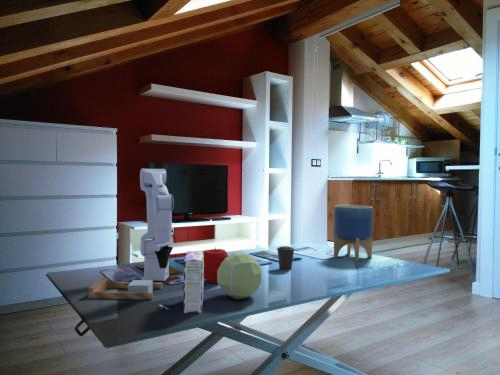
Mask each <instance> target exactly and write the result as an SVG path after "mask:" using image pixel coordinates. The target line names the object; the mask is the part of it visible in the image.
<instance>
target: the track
mask: <svg viewBox="0 0 500 375" xmlns="http://www.w3.org/2000/svg"><path fill="white" fill-rule="evenodd" d="M109 278H110V277H103V278H101V279H100V280H98V281H97V282H95V283H94V284H92V285H91V286H89V287H88V299H104V300H105V299H108V300H110V299H111V300H113V299H114V300H153V299H154V292H128V291H106V290H107V289H128V285H129V284H130V283H131V282H132V281H110V279H109ZM162 289H163V282H153V290H162Z"/></svg>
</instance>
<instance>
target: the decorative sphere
mask: <svg viewBox="0 0 500 375" xmlns="http://www.w3.org/2000/svg"><path fill="white" fill-rule="evenodd" d="M262 279H263V269H262V267H261V265H260V264H259V262H258V260H257V259H256V258H255V257H253V256H251V255H249V254H247V253H245V252H233V253H231V254H229V255H228V257H227V258H225V259H224V261H222V263H221V265H220V267H219V269H218V271H217V282H218V283H217V284H218V286H219V287H220V290H221V291H222V292H223V293H225V295H227V296H229V297H231V298H233V299H235V300H242V299H247V298H249V297H250V296H251V295H253V294H255V293H256V292H257V290H259V287H260V285H261V283H262Z"/></svg>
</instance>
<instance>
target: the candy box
mask: <svg viewBox="0 0 500 375" xmlns="http://www.w3.org/2000/svg"><path fill="white" fill-rule="evenodd" d="M204 279H205V278H204V250H200V251H199V250H196V251H195V250H193V251H189V250H188V251H186V254H185V256H184V260H183V314H202V313H201V312H203V304H204V288H205V287H204V283H205V280H204Z"/></svg>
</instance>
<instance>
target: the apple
mask: <svg viewBox="0 0 500 375" xmlns="http://www.w3.org/2000/svg"><path fill="white" fill-rule="evenodd" d="M203 252H204V279H205V280H206V281H207V282H208V283H211V284H218V282H217V271H218V269H219V267H220V265H221V263H222V261H224V259H225V258H227V257H228V256H229V254H228V253H227V251H226V250H225V249H222V248H217V247H214V249H207V250H203Z"/></svg>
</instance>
